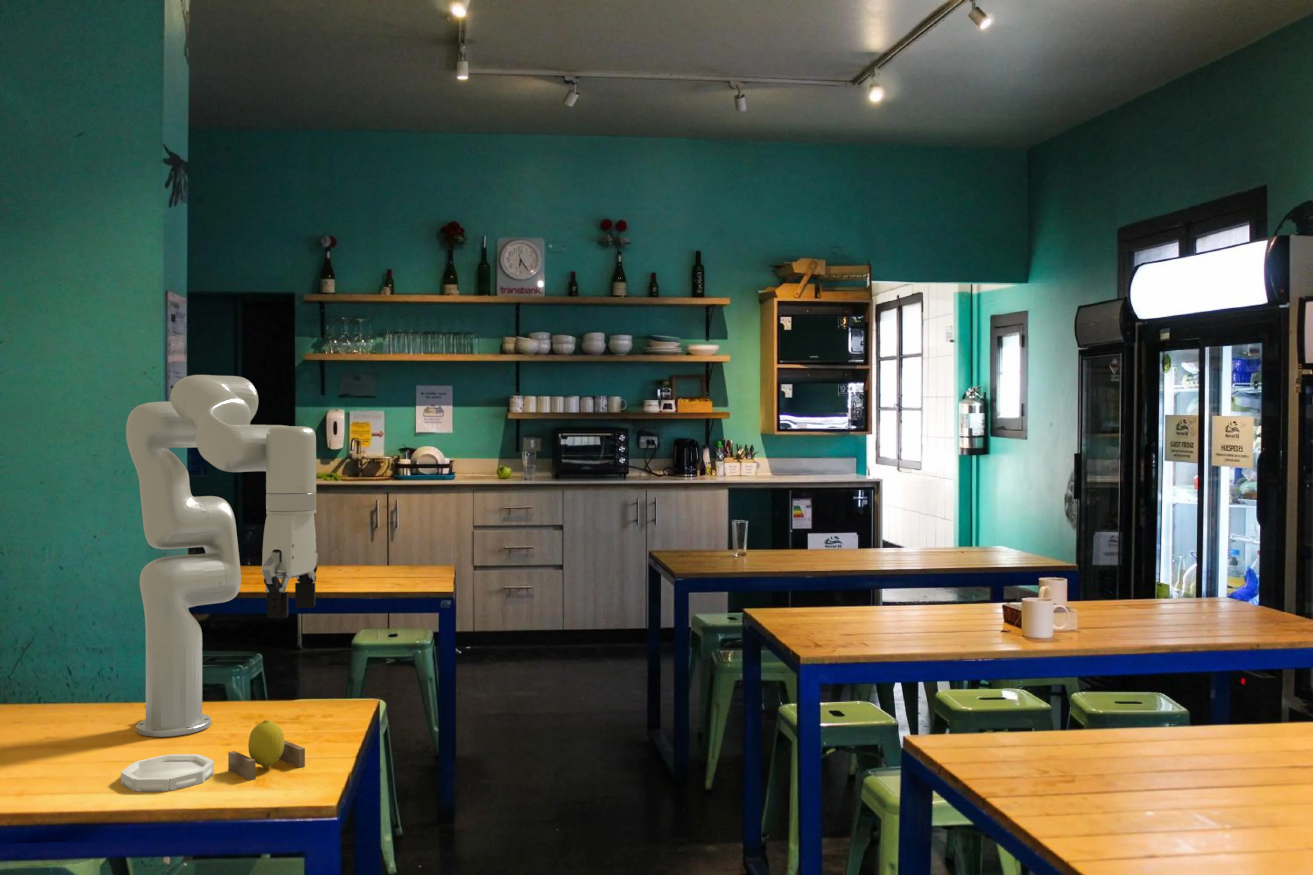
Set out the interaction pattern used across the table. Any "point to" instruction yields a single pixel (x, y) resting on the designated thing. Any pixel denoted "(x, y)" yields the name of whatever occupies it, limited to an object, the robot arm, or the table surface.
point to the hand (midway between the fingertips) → (291, 612)
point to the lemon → (266, 743)
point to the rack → (248, 765)
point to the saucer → (167, 772)
